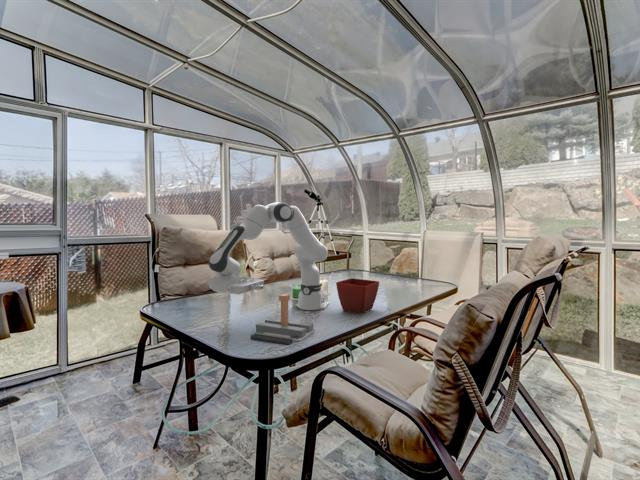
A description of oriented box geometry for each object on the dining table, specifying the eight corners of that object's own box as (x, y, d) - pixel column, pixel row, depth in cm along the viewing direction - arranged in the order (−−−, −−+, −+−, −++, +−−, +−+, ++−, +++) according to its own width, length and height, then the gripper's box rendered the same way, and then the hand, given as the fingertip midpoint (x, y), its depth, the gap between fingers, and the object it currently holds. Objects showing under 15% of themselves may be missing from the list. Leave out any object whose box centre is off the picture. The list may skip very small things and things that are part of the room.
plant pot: (379, 309, 205) (380, 281, 204) (365, 316, 189) (365, 286, 188) (351, 304, 215) (351, 277, 214) (335, 311, 200) (335, 282, 199)
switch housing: (271, 324, 174) (271, 316, 174) (315, 330, 165) (315, 322, 165) (253, 334, 159) (253, 325, 159) (300, 341, 150) (300, 332, 150)
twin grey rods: (254, 336, 156) (254, 332, 156) (293, 342, 149) (293, 338, 149) (249, 339, 153) (249, 335, 153) (289, 345, 145) (289, 341, 145)
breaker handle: (283, 327, 165) (283, 293, 164) (290, 328, 163) (289, 294, 162) (279, 330, 161) (278, 295, 160) (285, 331, 159) (285, 296, 158)
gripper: (224, 282, 161) (249, 284, 156) (249, 276, 180) (272, 277, 175) (224, 295, 161) (249, 298, 156) (249, 288, 180) (272, 290, 175)
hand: (261, 287), depth 165 cm, fingers closed
